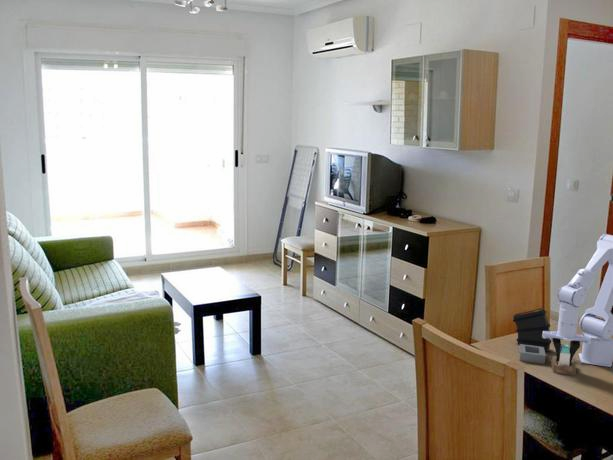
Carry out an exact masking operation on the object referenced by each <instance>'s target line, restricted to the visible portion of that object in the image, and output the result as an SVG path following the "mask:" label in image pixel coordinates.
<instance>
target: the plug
mask: <svg viewBox="0 0 613 460" xmlns="http://www.w3.org/2000/svg"><path fill="white" fill-rule="evenodd" d="M569 362H570V344H562V343H561V348H560V359H559V361H558V364H559V365H566V366H569Z"/></svg>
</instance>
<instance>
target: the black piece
mask: <svg viewBox="0 0 613 460" xmlns="http://www.w3.org/2000/svg"><path fill="white" fill-rule="evenodd" d="M546 313H547V310H546V309H544V307H541V308H536V309H532V310H528V311H524V312H519V313H516V314H513V317H512V318H513V319H512V322H513V323H515V326H516V329H515V332H516V333H517V338H516V340H515V341H516V342H517V343H516V344H517V345H518V346H520V344H524V345H531V346H539V347H544V350H545V352H549V350H550V349H551V348H550V347H551V343H552V339H550V338H546V339H545V338H543V337H542V334H543V331H550V327H551V323H549V320H548V317H547V314H546Z"/></svg>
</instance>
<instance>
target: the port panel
mask: <svg viewBox="0 0 613 460" xmlns="http://www.w3.org/2000/svg"><path fill="white" fill-rule="evenodd" d="M518 353H519V354H518V356H519V361H520V362H521V361H522V362H527V363H533V364H535V363H536V364H540V365H541V364H542V365H546V364H545V363H546V351H545V350H544V347H539V346H531V345H524V344H520V345H519V348H518Z"/></svg>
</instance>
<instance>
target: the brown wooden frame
mask: <svg viewBox="0 0 613 460" xmlns="http://www.w3.org/2000/svg"><path fill="white" fill-rule="evenodd" d="M550 363H551V367H552V372H553V373H557V374H565V375H570V376H575V375H576V365H575V362H574V359H573V358H572V361H571V363H569V366H566V365H559V364H558V361H557V359H556V355H555V356H554V355H553V356H551V362H550Z"/></svg>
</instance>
